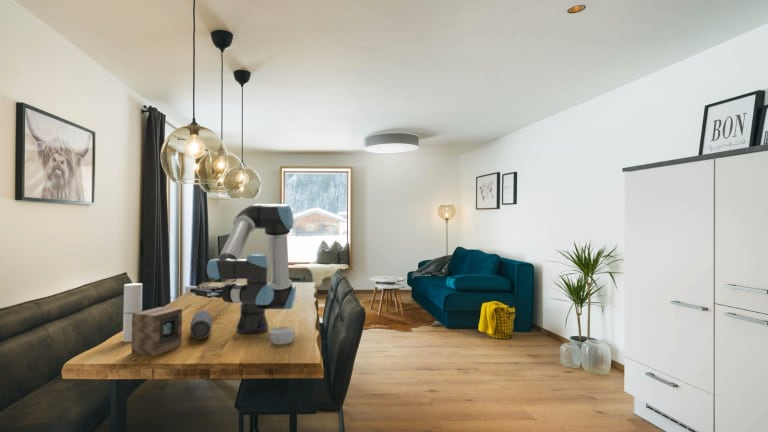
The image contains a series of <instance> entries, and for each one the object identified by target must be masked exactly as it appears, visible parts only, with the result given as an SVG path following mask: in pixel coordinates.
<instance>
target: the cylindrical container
mask: <svg viewBox="0 0 768 432" xmlns="http://www.w3.org/2000/svg"><path fill="white" fill-rule="evenodd" d="M122 311H123V312H122V313H123V315H122V316H123V317H122V321H123V323H122V324H123V325H122V342H125V343H128V342H131V343H132V314H133V313H137V312H141V311H143V283H141V282H140V283H139V282H137V283H135V282H134V283H124V285H123V310H122Z"/></svg>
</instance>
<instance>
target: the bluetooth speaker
mask: <svg viewBox="0 0 768 432" xmlns="http://www.w3.org/2000/svg"><path fill="white" fill-rule="evenodd" d="M212 328H213V318H212V315H211V313H210V312H209V311H207V310H199V311H197V312H196V313H195V314H194V315H193V317H192V319H191V322H190V333H191V336H192V337H194V338H195V339H204V338H206V337H208V335H209V334H210V333H211V330H212Z"/></svg>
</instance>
